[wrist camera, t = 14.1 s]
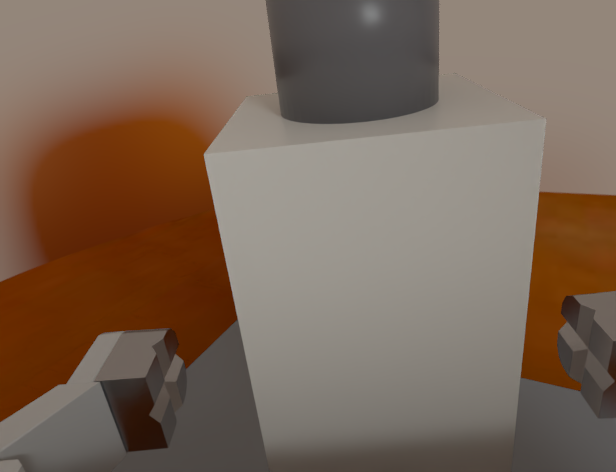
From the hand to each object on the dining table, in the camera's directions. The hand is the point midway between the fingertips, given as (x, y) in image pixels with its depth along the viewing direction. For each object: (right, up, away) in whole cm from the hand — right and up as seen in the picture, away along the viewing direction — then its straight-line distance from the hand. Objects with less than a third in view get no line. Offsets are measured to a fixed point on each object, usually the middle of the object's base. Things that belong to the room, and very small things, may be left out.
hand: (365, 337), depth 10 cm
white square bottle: (+1, -9, +4) cm, 10 cm away
